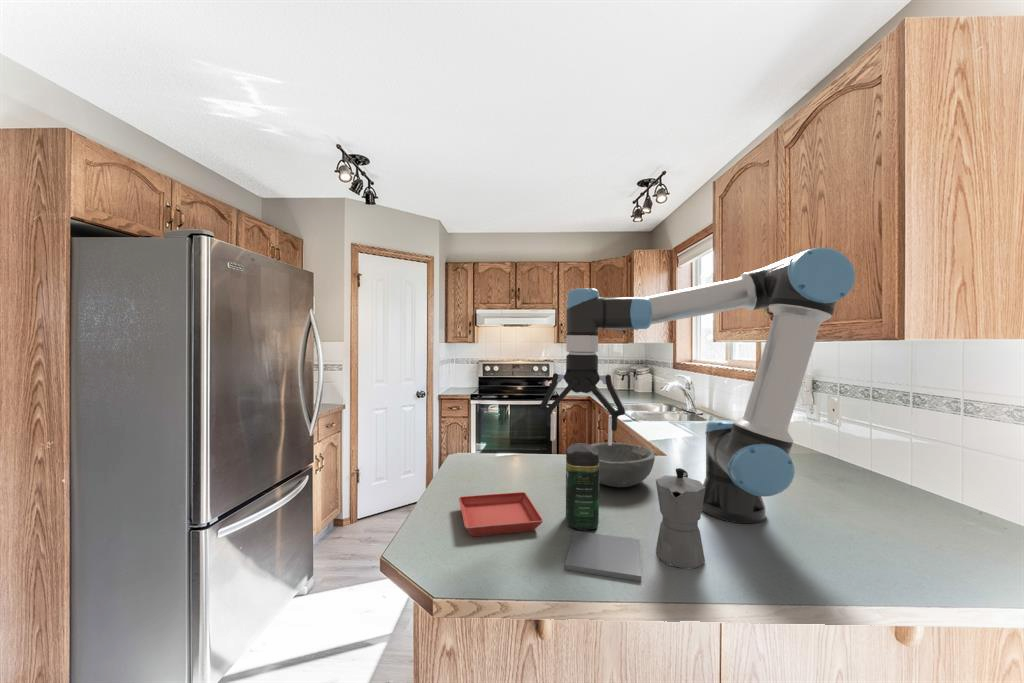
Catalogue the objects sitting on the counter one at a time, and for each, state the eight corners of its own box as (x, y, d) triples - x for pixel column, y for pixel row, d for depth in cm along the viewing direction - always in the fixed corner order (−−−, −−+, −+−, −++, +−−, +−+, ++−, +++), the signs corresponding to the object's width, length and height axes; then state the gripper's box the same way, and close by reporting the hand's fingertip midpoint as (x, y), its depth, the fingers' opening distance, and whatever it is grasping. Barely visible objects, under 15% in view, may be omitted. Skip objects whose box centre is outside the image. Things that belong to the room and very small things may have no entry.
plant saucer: (525, 502, 110) (525, 490, 110) (544, 534, 93) (544, 519, 93) (458, 509, 106) (458, 496, 106) (465, 543, 89) (465, 528, 89)
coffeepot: (703, 580, 74) (703, 482, 74) (649, 566, 79) (649, 474, 79) (707, 543, 88) (708, 460, 88) (662, 533, 92) (662, 454, 92)
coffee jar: (600, 532, 92) (601, 451, 92) (565, 530, 93) (565, 450, 93) (597, 514, 102) (597, 440, 102) (565, 512, 103) (565, 440, 103)
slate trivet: (639, 543, 87) (639, 539, 87) (641, 581, 74) (641, 576, 74) (574, 535, 91) (574, 530, 91) (564, 569, 78) (564, 564, 78)
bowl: (584, 467, 139) (584, 438, 139) (653, 474, 132) (653, 443, 132) (573, 491, 117) (573, 457, 117) (655, 501, 110) (655, 464, 110)
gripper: (636, 354, 97) (634, 442, 98) (534, 352, 104) (534, 434, 105) (636, 355, 90) (635, 450, 91) (527, 353, 97) (527, 441, 97)
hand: (581, 441), depth 98 cm, fingers open, 13 cm apart
